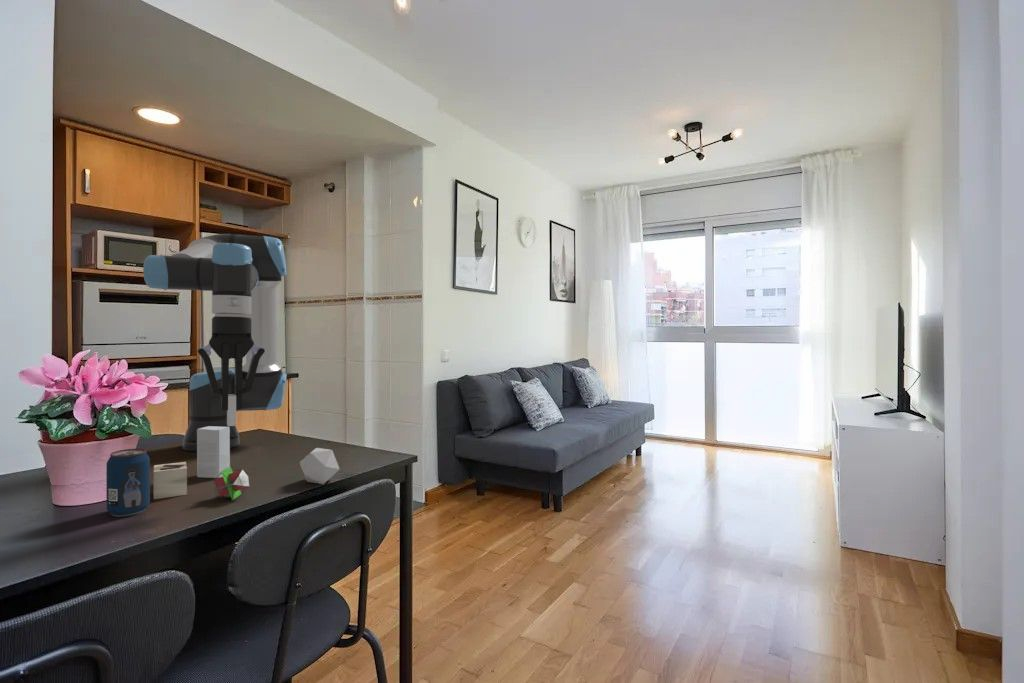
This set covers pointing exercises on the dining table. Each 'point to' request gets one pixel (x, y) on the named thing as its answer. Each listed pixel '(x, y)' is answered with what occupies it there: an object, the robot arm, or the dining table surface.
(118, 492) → the soda can
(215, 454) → the skincare box
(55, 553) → the dining table surface
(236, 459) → the dining table surface
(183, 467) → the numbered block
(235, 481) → the geometric puzzle
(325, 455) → the die
